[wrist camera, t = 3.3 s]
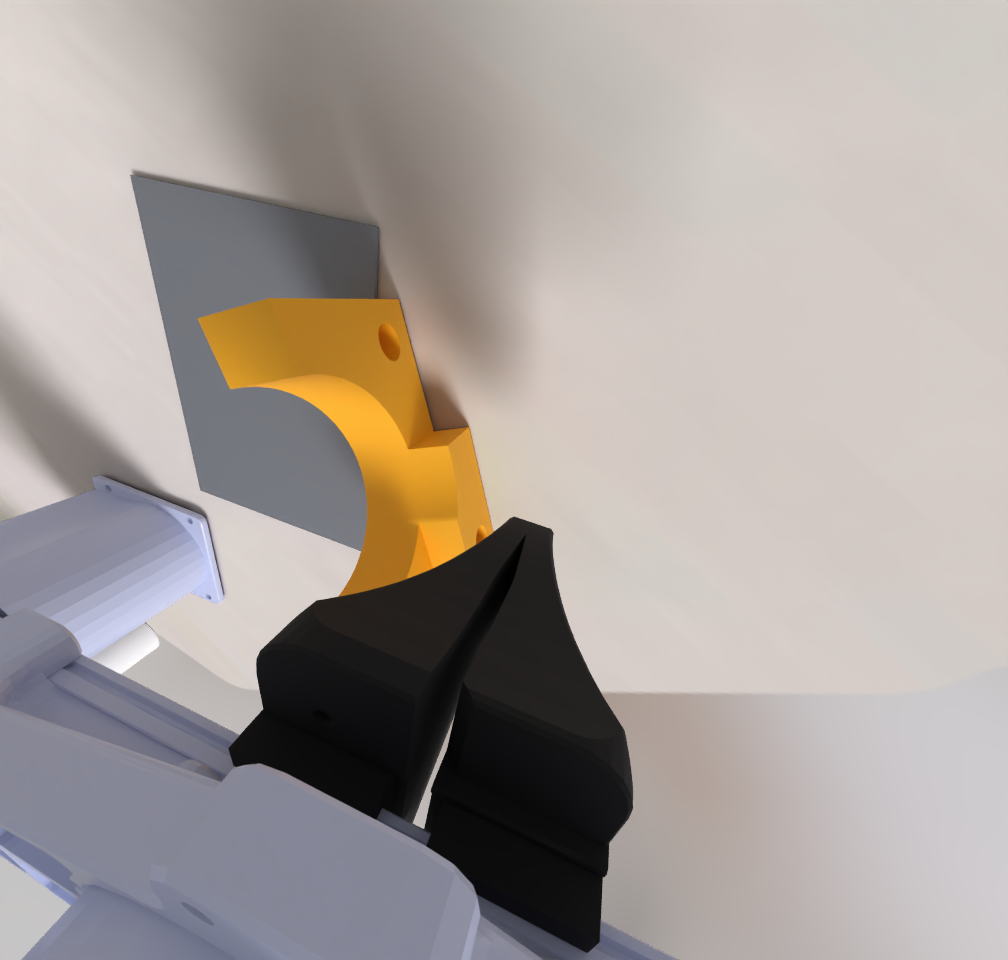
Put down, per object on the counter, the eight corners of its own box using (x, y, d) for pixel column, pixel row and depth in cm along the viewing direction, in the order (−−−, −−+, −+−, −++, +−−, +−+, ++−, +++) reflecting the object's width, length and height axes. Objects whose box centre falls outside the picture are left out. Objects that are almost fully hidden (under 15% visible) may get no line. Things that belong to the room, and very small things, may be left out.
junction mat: (203, 488, 24) (200, 490, 24) (135, 176, 16) (130, 174, 16) (369, 551, 22) (367, 553, 22) (379, 227, 14) (375, 226, 14)
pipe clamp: (496, 549, 19) (447, 653, 13) (421, 549, 20) (348, 644, 15) (437, 289, 14) (324, 282, 9) (346, 312, 16) (197, 318, 10)
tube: (124, 606, 34) (-188, 793, 21) (162, 636, 34) (-122, 839, 21) (119, 625, 36) (-167, 807, 23) (155, 654, 36) (-107, 849, 23)
